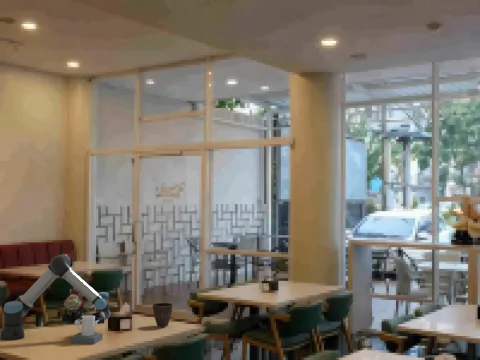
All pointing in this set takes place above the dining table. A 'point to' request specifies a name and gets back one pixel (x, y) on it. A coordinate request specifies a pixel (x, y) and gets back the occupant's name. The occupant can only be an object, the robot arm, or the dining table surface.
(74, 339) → the base block
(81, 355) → the dining table surface
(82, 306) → the rose bouquet
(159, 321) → the plant pot
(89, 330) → the mug
